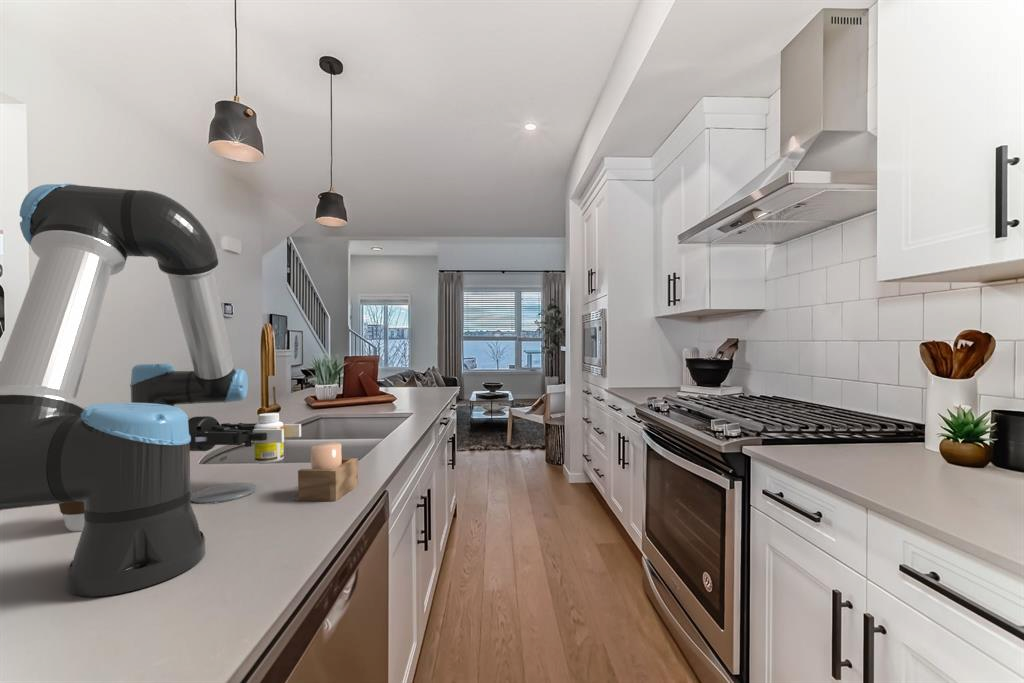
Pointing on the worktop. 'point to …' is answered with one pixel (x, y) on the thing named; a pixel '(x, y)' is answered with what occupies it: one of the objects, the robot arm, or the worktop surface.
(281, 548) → the worktop surface
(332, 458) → the peach cylinder
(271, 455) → the supplement bottle
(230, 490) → the slate coaster
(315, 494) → the wooden base
